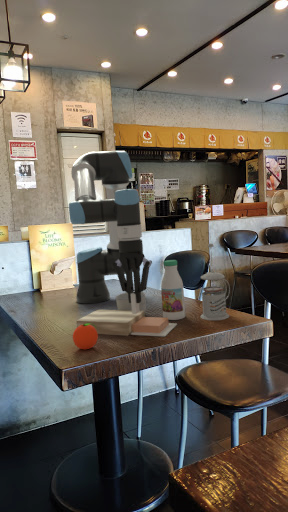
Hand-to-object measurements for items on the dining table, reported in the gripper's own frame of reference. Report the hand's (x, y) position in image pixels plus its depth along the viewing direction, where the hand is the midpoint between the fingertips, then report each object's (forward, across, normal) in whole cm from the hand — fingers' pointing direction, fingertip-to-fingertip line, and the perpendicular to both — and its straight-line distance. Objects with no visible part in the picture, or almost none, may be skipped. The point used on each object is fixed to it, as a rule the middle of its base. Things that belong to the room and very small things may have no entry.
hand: (135, 312), depth 118 cm
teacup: (+6, -9, +16) cm, 19 cm away
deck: (+5, -9, 0) cm, 10 cm away
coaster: (+5, +5, 0) cm, 7 cm away
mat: (+5, +6, 0) cm, 8 cm away
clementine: (+5, -7, -19) cm, 21 cm away
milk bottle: (+5, +8, +14) cm, 17 cm away
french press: (+5, +22, +18) cm, 29 cm away
